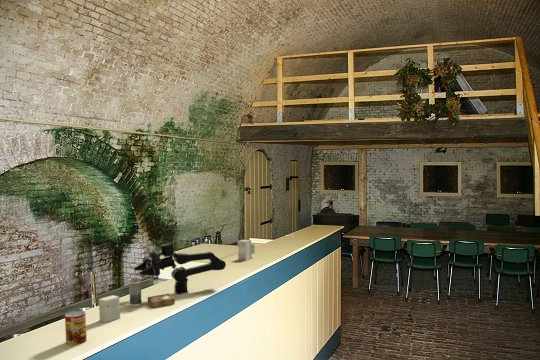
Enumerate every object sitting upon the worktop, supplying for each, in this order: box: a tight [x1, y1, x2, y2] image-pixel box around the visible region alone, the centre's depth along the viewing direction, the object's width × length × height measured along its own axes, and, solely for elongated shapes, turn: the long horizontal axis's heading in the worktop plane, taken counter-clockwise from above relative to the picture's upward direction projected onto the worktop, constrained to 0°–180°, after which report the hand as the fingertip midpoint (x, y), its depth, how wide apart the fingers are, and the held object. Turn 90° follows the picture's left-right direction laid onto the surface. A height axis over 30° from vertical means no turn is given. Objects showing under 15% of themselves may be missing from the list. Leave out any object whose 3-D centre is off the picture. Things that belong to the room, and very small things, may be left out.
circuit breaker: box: [237, 239, 256, 262], centre depth 355 cm, size 8×14×15 cm, turn 148°
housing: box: [128, 279, 144, 308], centre depth 237 cm, size 7×7×12 cm
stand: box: [147, 293, 176, 309], centre depth 237 cm, size 12×12×3 cm
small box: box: [98, 294, 121, 323], centre depth 213 cm, size 8×6×10 cm
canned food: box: [64, 310, 88, 347], centre depth 185 cm, size 8×8×12 cm
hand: (136, 271), depth 245 cm, fingers open, 9 cm apart
